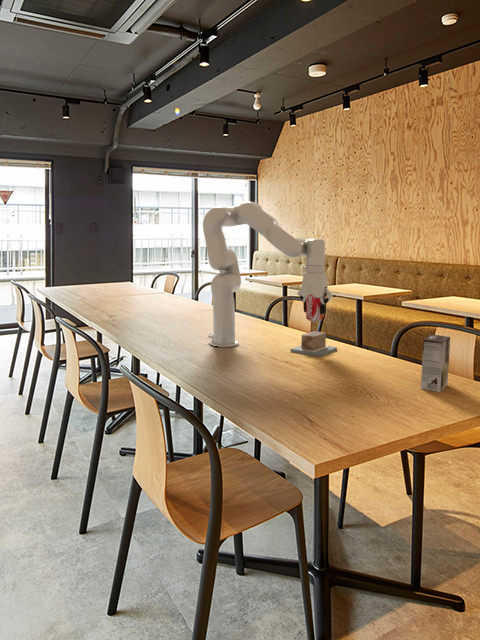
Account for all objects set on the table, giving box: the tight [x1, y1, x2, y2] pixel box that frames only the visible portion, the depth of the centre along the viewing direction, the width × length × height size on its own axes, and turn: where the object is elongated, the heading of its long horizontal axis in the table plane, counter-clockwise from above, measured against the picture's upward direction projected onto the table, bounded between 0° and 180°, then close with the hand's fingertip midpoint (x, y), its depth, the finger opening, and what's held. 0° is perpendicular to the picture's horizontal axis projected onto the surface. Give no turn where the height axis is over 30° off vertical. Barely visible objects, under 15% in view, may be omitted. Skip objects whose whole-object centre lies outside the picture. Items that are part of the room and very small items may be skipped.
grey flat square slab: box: [290, 344, 338, 358], centre depth 212 cm, size 14×14×1 cm
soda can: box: [305, 292, 324, 322], centre depth 209 cm, size 7×7×12 cm
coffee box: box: [420, 334, 451, 393], centre depth 160 cm, size 9×6×16 cm
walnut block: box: [301, 330, 327, 351], centre depth 211 cm, size 6×10×6 cm, turn 141°
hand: (314, 312), depth 209 cm, fingers closed on soda can, 7 cm apart
